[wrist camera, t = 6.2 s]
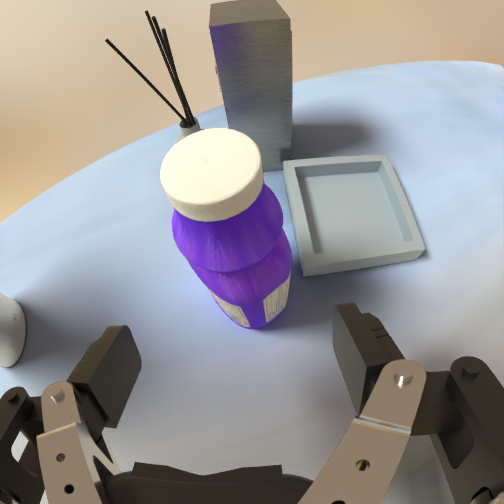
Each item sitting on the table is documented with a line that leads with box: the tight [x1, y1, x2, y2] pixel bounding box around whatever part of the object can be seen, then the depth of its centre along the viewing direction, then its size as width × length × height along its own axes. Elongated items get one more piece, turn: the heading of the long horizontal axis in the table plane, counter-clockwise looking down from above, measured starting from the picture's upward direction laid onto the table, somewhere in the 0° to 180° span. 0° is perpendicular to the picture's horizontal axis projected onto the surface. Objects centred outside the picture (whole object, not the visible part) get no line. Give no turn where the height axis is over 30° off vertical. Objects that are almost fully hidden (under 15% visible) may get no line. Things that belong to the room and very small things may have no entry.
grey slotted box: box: [209, 0, 292, 172], centre depth 26 cm, size 7×8×18 cm
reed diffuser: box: [105, 11, 205, 144], centre depth 25 cm, size 10×7×20 cm
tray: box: [283, 154, 425, 277], centre depth 28 cm, size 12×12×2 cm
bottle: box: [160, 128, 292, 329], centre depth 19 cm, size 7×6×17 cm
